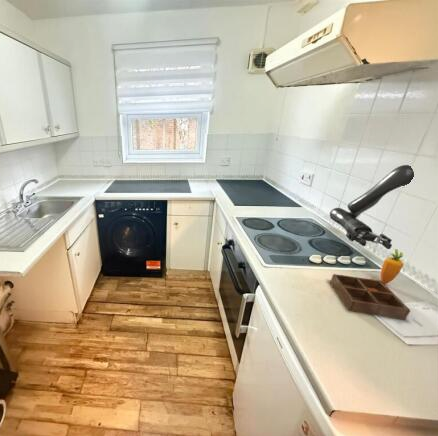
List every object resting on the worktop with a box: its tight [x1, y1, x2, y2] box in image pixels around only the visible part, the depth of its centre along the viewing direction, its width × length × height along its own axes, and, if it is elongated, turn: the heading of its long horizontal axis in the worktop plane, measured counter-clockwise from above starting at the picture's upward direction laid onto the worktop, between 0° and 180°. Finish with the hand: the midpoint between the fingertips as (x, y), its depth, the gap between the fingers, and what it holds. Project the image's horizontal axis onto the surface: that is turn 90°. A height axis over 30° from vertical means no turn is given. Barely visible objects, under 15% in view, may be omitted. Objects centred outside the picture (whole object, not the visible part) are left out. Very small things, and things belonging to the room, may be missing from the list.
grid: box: [329, 273, 411, 321], centre depth 84 cm, size 15×15×4 cm
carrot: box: [380, 248, 404, 285], centre depth 89 cm, size 5×5×15 cm
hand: (377, 245), depth 98 cm, fingers open, 8 cm apart
